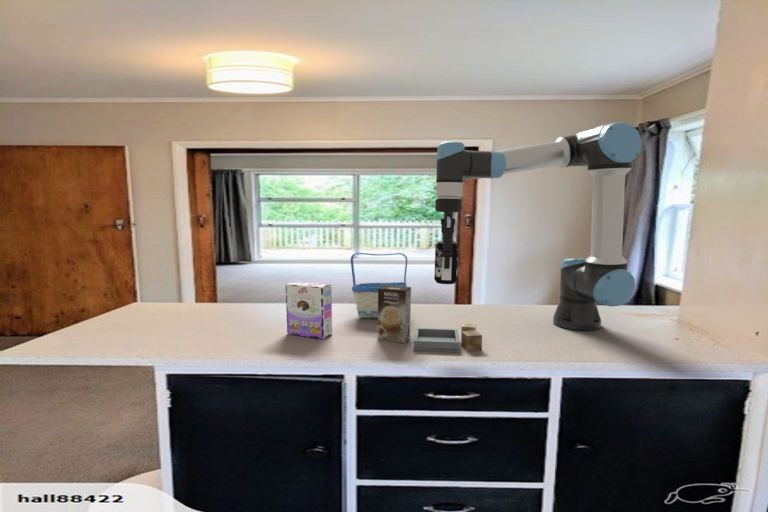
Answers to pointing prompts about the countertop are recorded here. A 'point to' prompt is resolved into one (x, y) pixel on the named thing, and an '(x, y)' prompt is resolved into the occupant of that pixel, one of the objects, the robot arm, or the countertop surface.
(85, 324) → the countertop surface
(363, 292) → the basket
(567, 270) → the robot arm
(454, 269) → the beverage can
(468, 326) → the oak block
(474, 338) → the walnut block
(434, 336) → the tray
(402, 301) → the coffee box
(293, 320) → the candy box
